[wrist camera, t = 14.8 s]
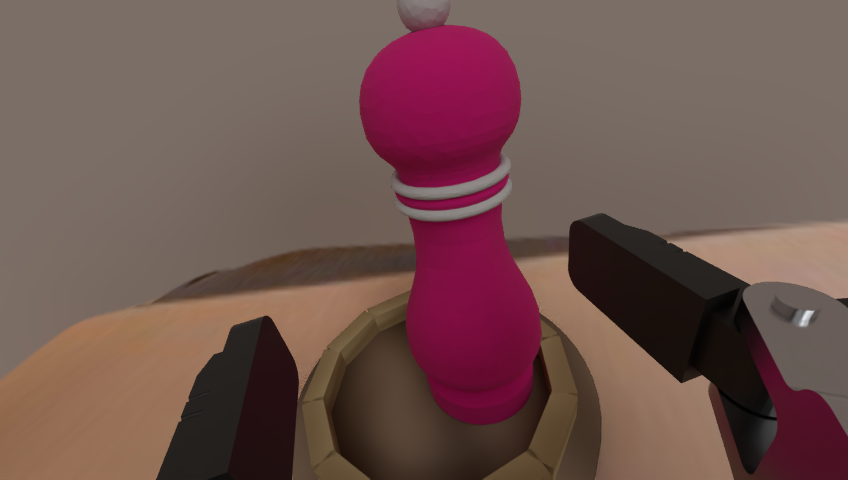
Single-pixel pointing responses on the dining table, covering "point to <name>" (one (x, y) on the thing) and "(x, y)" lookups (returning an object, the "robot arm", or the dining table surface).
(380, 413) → the tray
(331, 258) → the dining table surface
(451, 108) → the pepper mill
